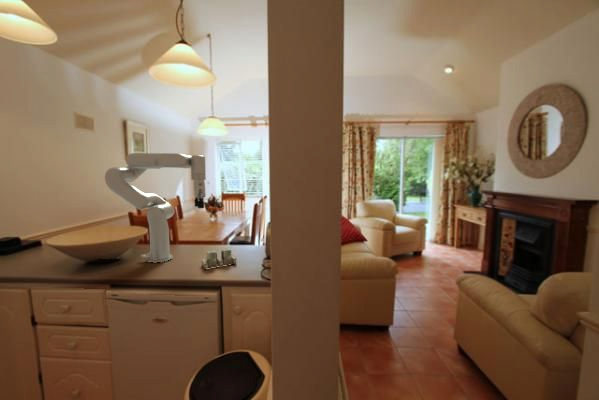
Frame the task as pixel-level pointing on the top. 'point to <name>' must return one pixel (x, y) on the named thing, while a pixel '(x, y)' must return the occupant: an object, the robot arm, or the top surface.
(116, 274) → the top surface
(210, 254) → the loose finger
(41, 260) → the top surface
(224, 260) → the rail board
